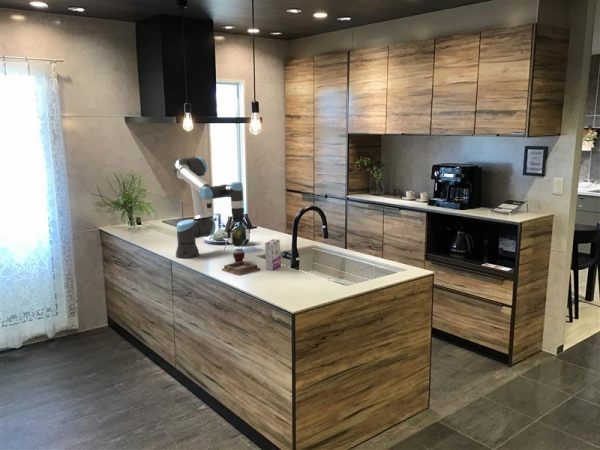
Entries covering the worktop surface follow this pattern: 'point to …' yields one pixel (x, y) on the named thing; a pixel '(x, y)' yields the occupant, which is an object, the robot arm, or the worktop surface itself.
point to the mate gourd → (239, 254)
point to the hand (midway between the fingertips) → (239, 241)
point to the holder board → (240, 268)
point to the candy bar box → (272, 254)
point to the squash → (239, 235)
